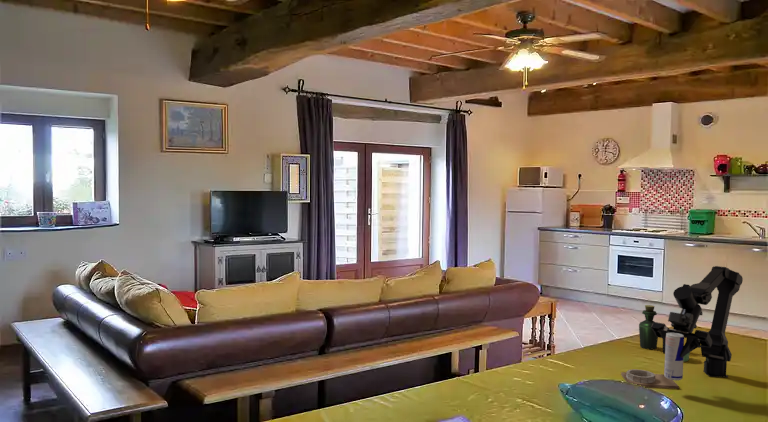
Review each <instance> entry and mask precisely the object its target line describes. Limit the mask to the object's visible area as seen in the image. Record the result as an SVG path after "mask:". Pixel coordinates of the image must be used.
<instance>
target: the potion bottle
mask: <svg viewBox="0 0 768 422" xmlns="http://www.w3.org/2000/svg"><path fill="white" fill-rule="evenodd" d="M644 308H645V309H644V310H642V313H641V314H643V315H644V319H645V320H642V321H640V322H639V324H638V331H639V346H640V348H641V349H643V350H644V349H645V350H655V349H657V348H658V347H657V346H658V339H659V337H657V336H655V334H654V332H653V330H652V329H651V326H652V324H653V323H654V322H655V320H654V318H655V316H657V315H658V313H657V311H655V305H651V304H646V305H644Z"/></svg>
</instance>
